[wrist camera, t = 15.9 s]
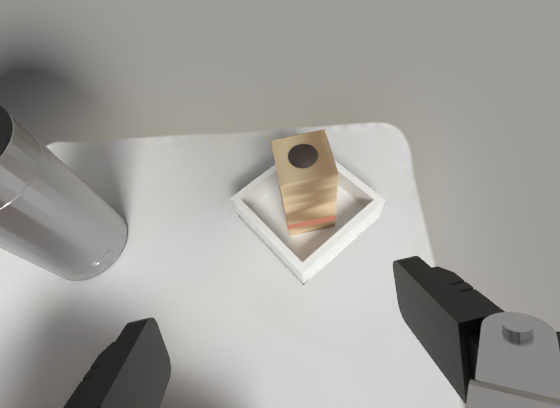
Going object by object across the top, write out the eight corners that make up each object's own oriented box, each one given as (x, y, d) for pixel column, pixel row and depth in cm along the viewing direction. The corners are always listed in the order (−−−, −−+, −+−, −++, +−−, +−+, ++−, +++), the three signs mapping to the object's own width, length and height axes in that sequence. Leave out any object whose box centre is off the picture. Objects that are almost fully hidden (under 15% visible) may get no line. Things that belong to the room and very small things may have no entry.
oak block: (289, 236, 36) (279, 185, 28) (281, 197, 39) (269, 139, 30) (335, 226, 36) (339, 172, 28) (324, 188, 39) (324, 128, 30)
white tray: (236, 213, 40) (229, 198, 37) (308, 157, 43) (307, 139, 40) (303, 285, 34) (301, 274, 31) (380, 215, 37) (385, 199, 34)
